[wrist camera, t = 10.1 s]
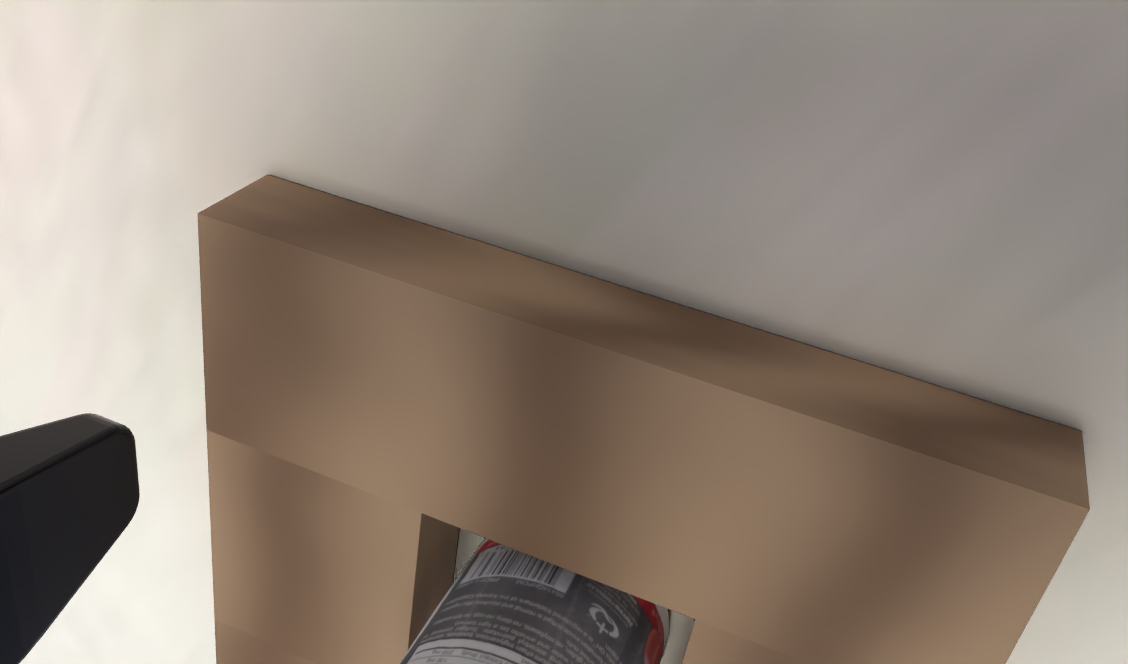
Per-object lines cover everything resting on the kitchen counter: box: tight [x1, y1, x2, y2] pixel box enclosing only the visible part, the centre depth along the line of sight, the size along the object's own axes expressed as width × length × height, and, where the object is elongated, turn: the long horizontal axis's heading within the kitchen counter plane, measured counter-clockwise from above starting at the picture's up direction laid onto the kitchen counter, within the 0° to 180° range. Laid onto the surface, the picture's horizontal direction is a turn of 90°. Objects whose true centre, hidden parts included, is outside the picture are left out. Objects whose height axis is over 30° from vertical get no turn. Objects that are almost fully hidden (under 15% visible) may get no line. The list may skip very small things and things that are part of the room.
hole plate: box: [198, 175, 1090, 664], centre depth 26 cm, size 18×18×2 cm
